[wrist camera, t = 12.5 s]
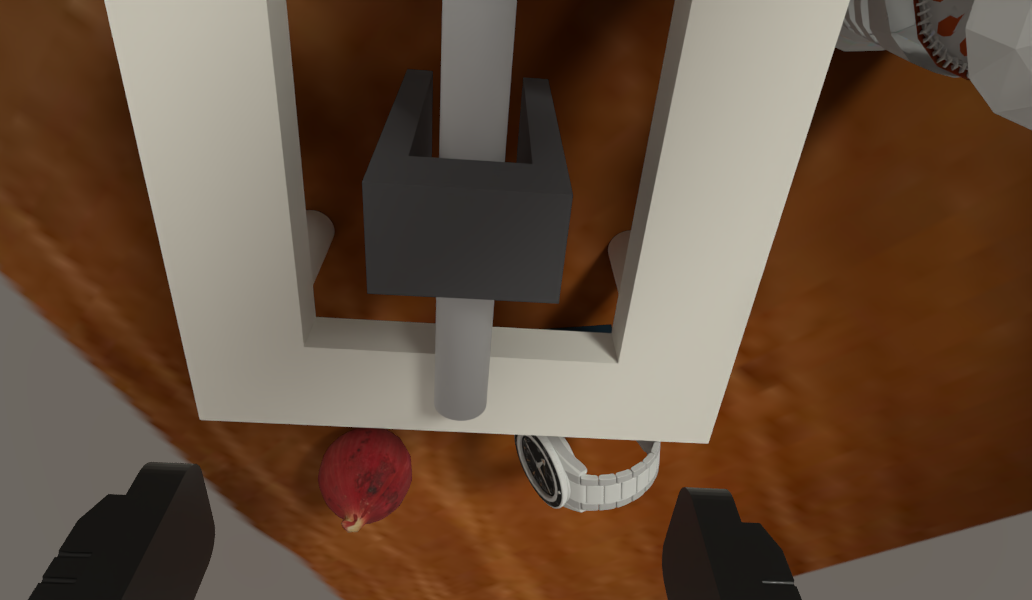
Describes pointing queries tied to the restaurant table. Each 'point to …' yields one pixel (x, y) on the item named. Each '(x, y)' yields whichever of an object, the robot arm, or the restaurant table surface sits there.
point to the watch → (582, 468)
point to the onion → (365, 476)
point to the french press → (954, 43)
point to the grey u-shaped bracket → (466, 207)
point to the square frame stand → (469, 136)
